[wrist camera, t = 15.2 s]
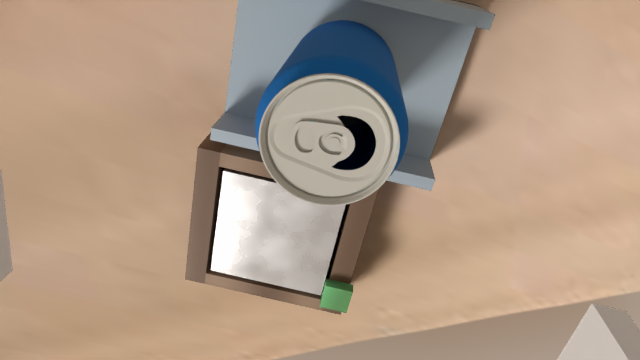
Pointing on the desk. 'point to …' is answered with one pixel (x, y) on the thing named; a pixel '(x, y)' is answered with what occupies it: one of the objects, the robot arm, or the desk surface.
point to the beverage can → (334, 116)
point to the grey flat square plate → (273, 234)
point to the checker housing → (198, 269)
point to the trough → (397, 31)
